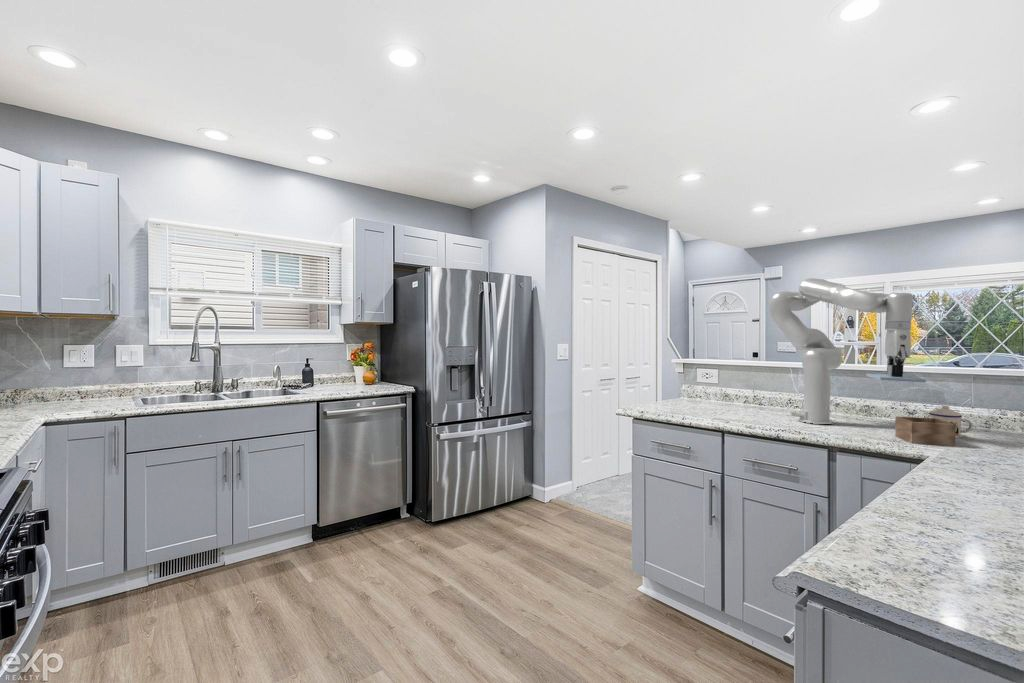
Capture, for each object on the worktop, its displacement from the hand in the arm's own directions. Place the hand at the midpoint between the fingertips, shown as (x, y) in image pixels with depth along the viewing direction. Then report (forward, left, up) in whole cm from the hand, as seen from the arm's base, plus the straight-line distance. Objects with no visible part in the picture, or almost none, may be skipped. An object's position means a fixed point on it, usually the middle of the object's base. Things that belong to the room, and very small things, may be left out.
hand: (894, 374), depth 180 cm
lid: (0, 0, -2) cm, 2 cm away
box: (+4, -12, -23) cm, 26 cm away
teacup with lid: (+18, +2, -23) cm, 29 cm away
